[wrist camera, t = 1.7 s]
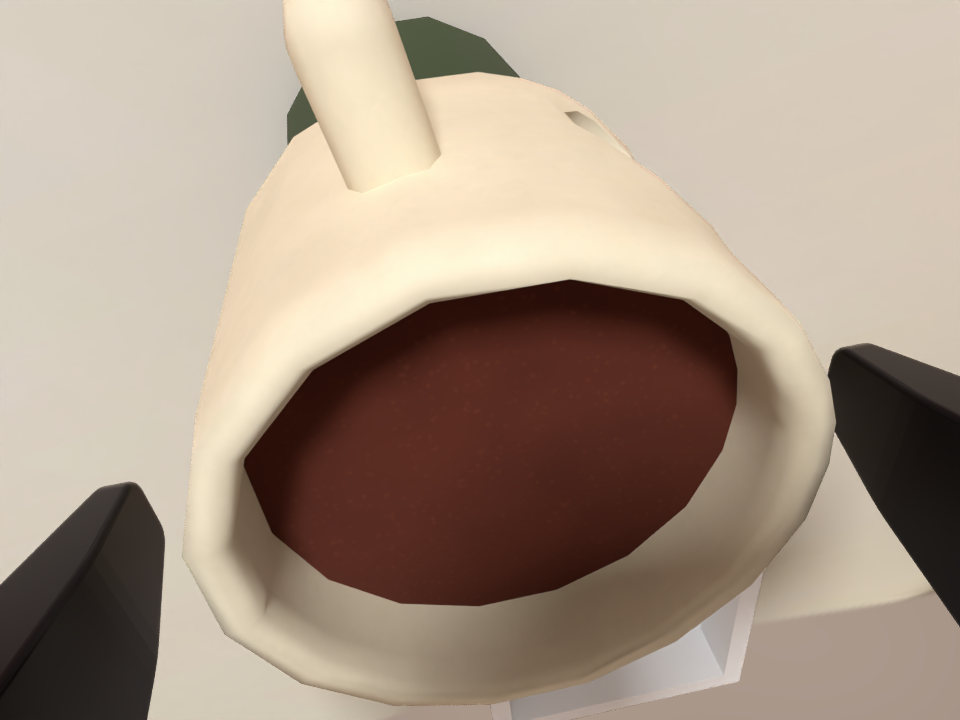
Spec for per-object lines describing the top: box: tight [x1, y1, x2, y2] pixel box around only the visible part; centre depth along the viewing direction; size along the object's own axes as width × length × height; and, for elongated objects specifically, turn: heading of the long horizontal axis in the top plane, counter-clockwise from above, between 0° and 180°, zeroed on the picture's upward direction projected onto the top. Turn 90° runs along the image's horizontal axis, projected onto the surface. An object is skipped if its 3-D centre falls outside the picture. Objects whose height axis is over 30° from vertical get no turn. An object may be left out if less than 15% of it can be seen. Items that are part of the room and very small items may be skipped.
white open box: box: [490, 570, 764, 720], centre depth 28 cm, size 11×15×3 cm
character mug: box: [182, 0, 836, 706], centre depth 13 cm, size 11×7×13 cm, turn 18°
